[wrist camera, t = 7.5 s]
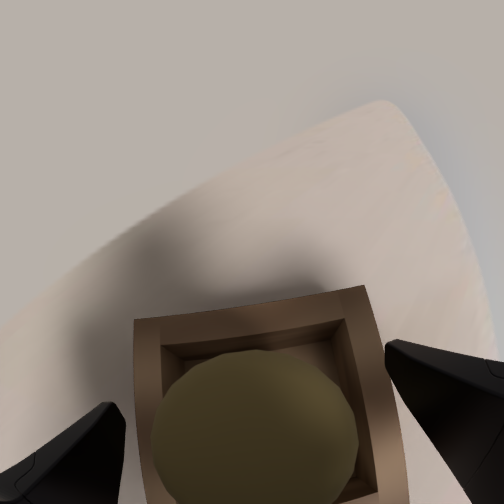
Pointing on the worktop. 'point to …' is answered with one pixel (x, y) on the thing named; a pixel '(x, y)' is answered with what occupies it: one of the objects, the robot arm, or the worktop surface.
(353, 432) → the cork
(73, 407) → the worktop surface
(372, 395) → the socket block
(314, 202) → the worktop surface
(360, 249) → the worktop surface
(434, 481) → the worktop surface
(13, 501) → the robot arm
